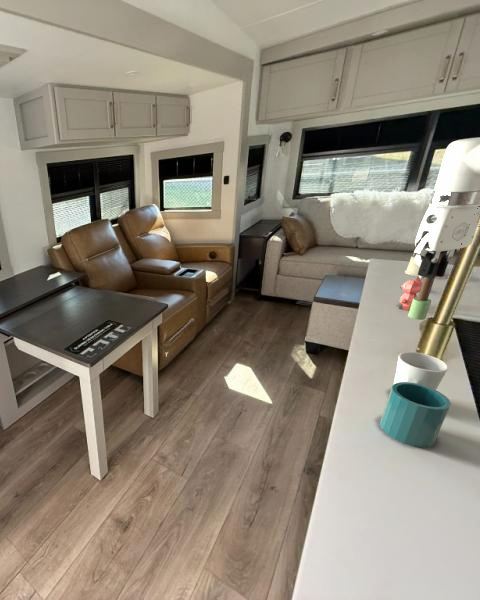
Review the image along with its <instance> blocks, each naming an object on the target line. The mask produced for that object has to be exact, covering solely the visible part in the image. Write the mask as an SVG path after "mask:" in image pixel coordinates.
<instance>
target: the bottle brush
mask: <svg viewBox="0 0 480 600" xmlns="http://www.w3.org/2000/svg"><path fill="white" fill-rule="evenodd" d="M432 254H433V253H432ZM442 255H443V254H440V255H439V258H438V261H437V262H438V263H439V264H440V261H441V258H442ZM438 267H439V266H438ZM437 270H438V269H437ZM436 273H437V272H436ZM436 277H437V276H436V275H435V277H434V278H427V277H423V278H422V285H421V288H420V292H419V293H418V295H417V297H415V298H413V301H412V304H411V307H410V310H408V314H407V317H408V318H411V319H412V320H418V321H424V320H426V318H427V315H428V313H429V309H430V306H431V303H432V299H429V297H430V293H431V291H432V288H433V285H434V282H435V279H436Z"/></svg>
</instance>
